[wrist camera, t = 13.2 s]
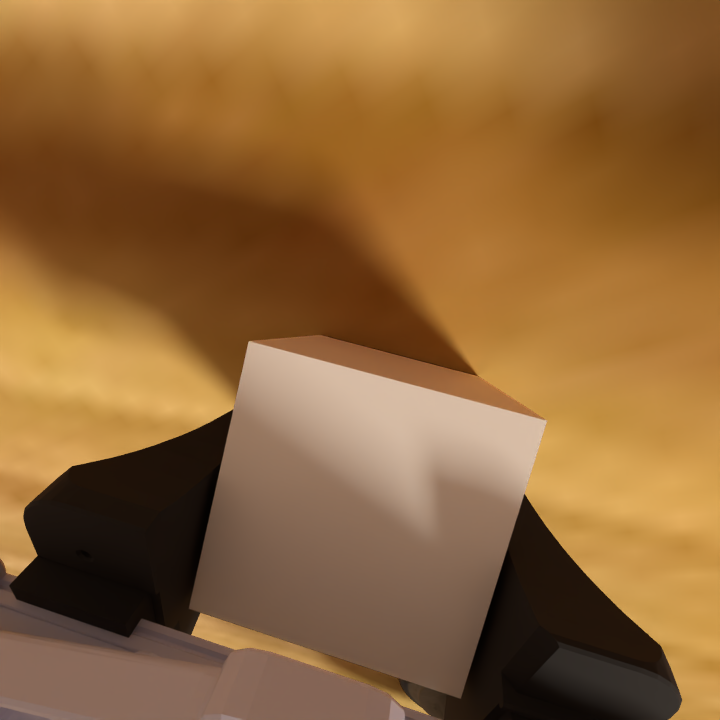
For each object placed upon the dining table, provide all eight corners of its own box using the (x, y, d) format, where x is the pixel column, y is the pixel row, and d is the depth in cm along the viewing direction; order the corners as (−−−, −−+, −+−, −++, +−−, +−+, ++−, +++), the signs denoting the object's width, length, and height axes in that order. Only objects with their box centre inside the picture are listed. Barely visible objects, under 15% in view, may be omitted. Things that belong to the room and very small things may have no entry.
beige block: (478, 376, 15) (547, 420, 8) (434, 528, 15) (460, 698, 8) (320, 334, 15) (249, 341, 8) (283, 484, 16) (188, 608, 9)
